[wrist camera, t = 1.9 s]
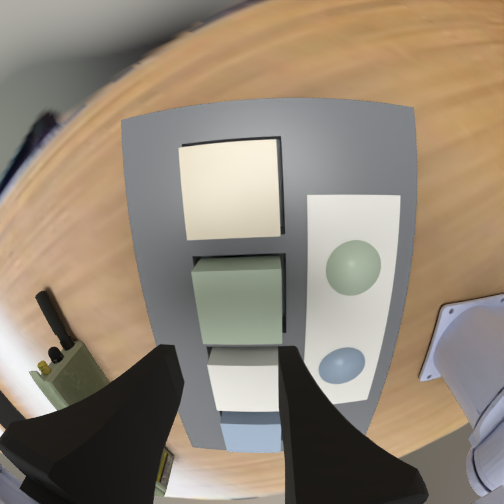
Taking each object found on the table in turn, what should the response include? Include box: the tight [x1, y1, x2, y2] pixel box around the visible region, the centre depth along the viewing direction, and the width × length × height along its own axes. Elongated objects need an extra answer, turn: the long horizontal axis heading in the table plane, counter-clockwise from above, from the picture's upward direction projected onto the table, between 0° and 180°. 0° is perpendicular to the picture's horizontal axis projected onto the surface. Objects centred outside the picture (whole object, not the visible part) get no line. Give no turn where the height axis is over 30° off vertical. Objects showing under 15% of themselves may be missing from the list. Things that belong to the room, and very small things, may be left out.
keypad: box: [121, 98, 417, 451], centre depth 17 cm, size 16×27×3 cm, turn 3°
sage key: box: [191, 256, 282, 345], centre depth 15 cm, size 4×4×2 cm
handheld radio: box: [29, 291, 174, 497], centre depth 20 cm, size 7×3×25 cm
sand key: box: [179, 139, 280, 240], centre depth 13 cm, size 4×4×2 cm
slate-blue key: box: [220, 411, 281, 453], centre depth 19 cm, size 4×4×2 cm
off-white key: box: [207, 346, 279, 412], centre depth 17 cm, size 4×4×2 cm
